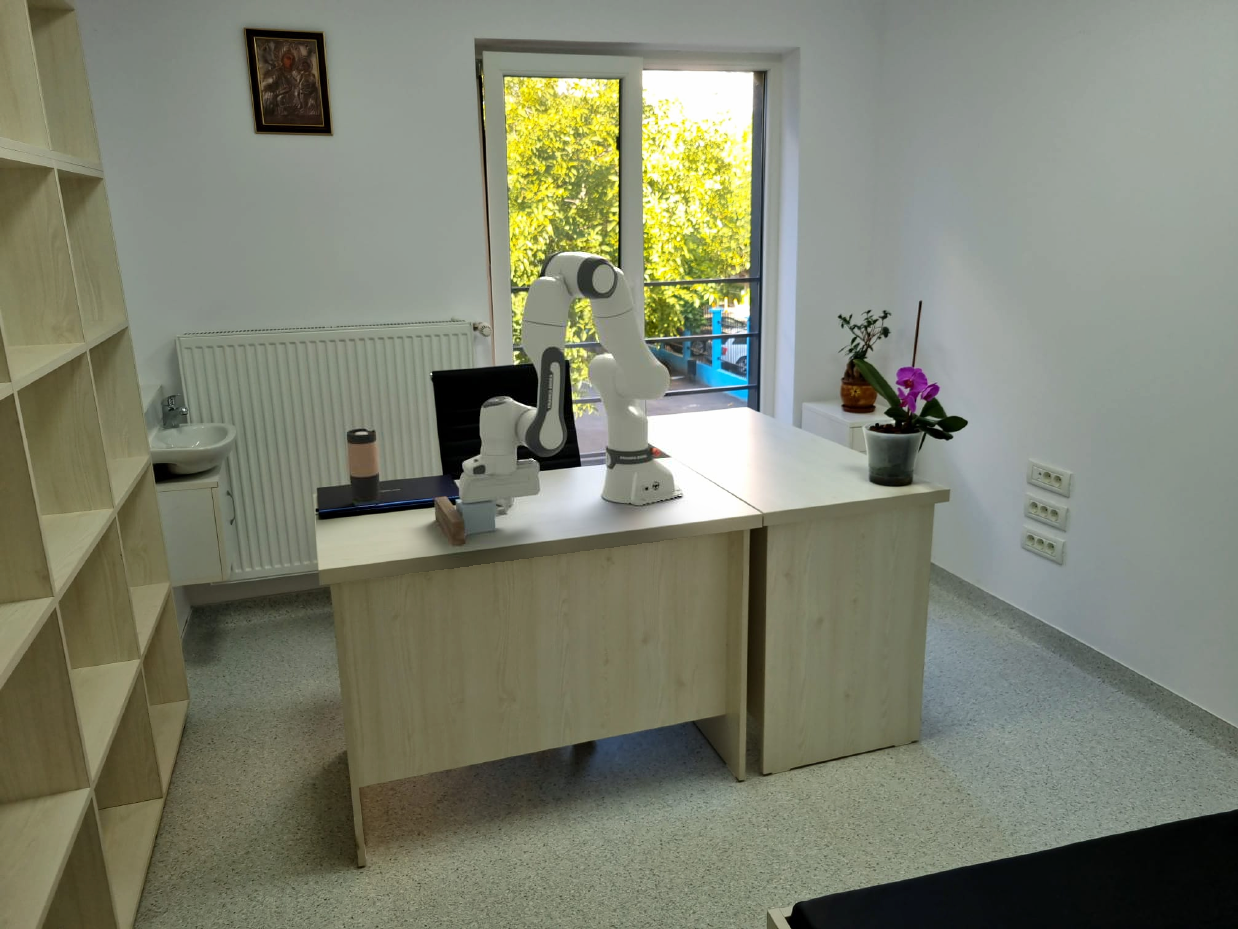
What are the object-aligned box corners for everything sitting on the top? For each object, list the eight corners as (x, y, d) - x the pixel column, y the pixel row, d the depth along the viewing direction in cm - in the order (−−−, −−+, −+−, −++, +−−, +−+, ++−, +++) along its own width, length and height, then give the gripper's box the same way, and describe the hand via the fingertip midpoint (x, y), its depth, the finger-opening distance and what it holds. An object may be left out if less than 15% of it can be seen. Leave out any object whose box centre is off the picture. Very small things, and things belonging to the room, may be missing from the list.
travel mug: (353, 509, 249) (347, 436, 243) (350, 501, 256) (344, 429, 250) (383, 506, 252) (378, 433, 246) (378, 497, 258) (373, 427, 253)
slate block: (488, 521, 240) (486, 495, 238) (495, 530, 234) (494, 503, 232) (457, 525, 237) (455, 499, 235) (463, 535, 231) (462, 508, 229)
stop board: (447, 518, 242) (446, 496, 241) (465, 544, 225) (464, 520, 223) (435, 519, 241) (434, 497, 240) (453, 546, 224) (452, 522, 222)
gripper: (535, 455, 240) (536, 506, 244) (456, 463, 232) (458, 516, 236) (543, 461, 234) (544, 513, 238) (462, 470, 227) (464, 524, 230)
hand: (500, 515), depth 237 cm, fingers closed
